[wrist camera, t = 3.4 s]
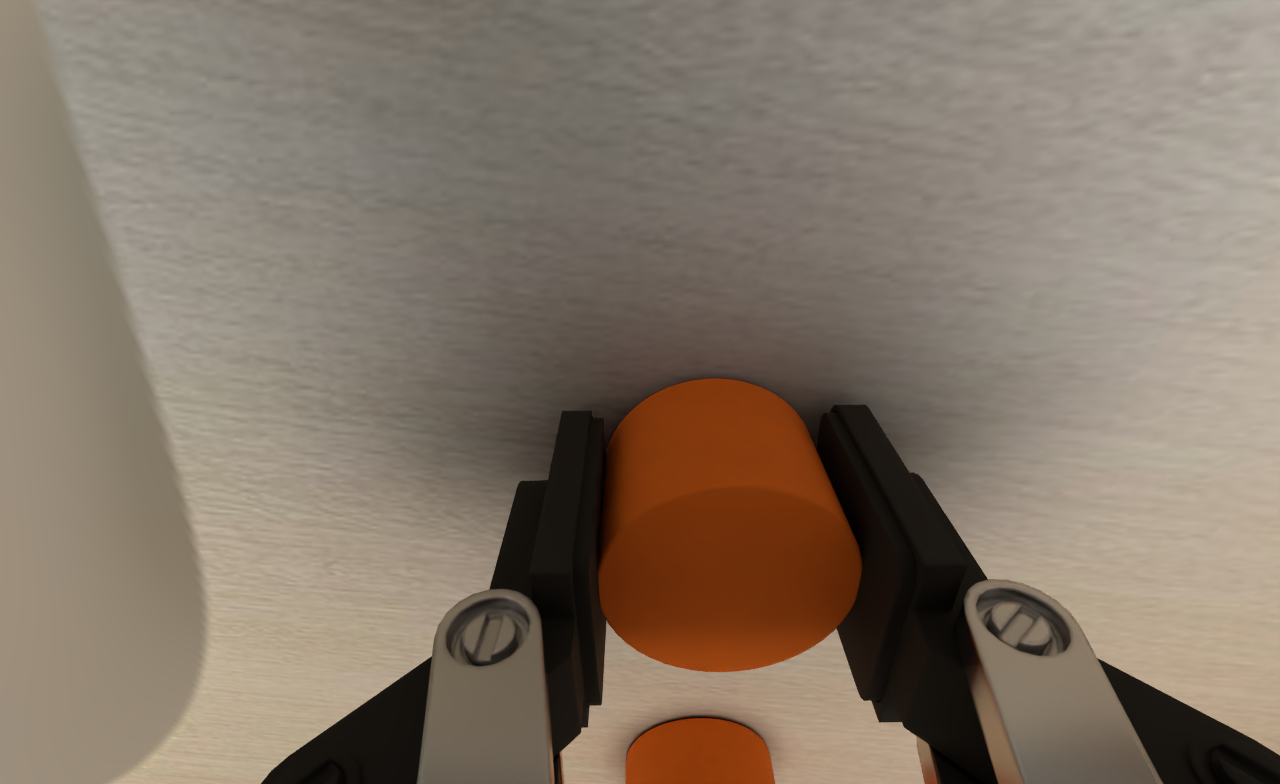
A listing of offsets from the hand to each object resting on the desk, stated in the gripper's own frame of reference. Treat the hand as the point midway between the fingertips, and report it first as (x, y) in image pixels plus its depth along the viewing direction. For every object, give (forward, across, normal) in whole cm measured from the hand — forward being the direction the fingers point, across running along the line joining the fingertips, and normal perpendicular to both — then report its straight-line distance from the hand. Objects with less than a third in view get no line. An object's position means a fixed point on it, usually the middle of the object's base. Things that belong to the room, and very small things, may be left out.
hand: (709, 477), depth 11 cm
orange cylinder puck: (0, 0, 0) cm, 0 cm away
